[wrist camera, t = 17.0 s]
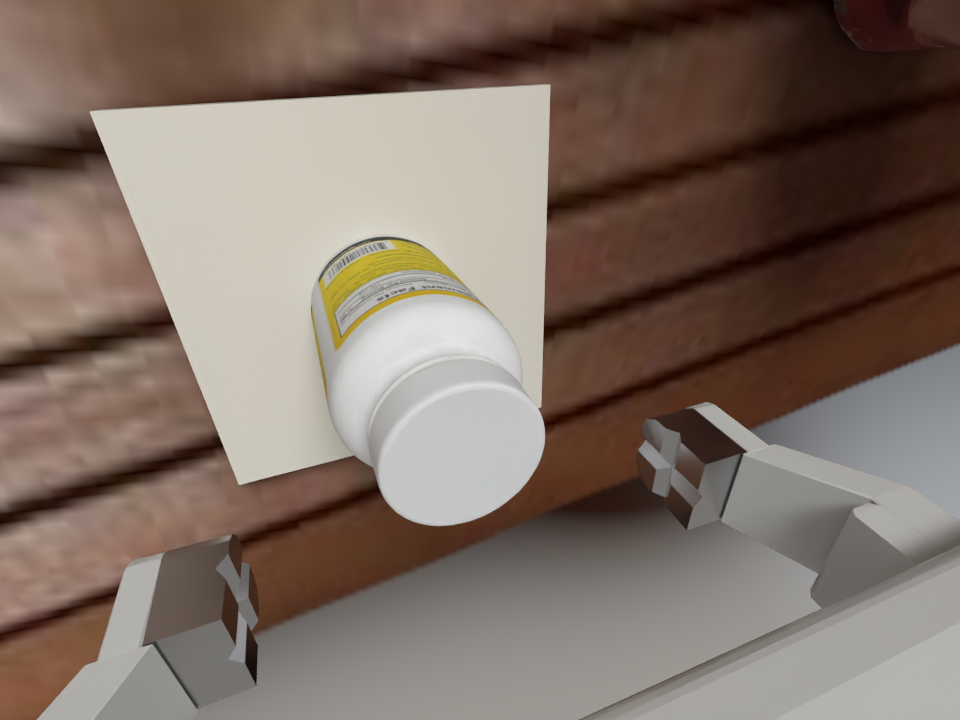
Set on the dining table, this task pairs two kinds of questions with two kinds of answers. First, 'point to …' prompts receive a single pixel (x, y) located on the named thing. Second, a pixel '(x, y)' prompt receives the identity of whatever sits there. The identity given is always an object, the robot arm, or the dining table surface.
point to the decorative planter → (900, 24)
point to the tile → (325, 233)
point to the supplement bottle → (423, 382)
